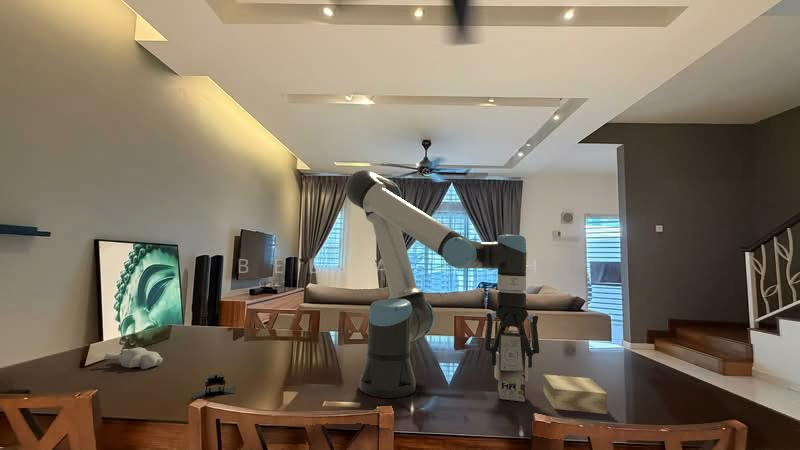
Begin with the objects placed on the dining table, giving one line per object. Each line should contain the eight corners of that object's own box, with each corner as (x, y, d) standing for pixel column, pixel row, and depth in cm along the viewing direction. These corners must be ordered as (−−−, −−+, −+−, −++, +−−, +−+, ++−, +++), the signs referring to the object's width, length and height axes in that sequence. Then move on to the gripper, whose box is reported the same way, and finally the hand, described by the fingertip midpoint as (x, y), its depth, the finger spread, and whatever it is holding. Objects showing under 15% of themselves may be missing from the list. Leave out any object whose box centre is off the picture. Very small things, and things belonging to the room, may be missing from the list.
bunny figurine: (146, 358, 106) (101, 348, 109) (142, 376, 106) (97, 366, 108) (170, 350, 116) (129, 341, 118) (167, 367, 115) (125, 358, 117)
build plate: (184, 403, 86) (186, 382, 86) (186, 392, 92) (188, 374, 93) (242, 396, 92) (243, 377, 92) (240, 387, 98) (241, 369, 98)
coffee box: (525, 402, 92) (526, 336, 94) (499, 399, 93) (500, 334, 95) (521, 390, 101) (521, 330, 103) (497, 387, 102) (498, 328, 104)
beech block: (553, 410, 89) (553, 388, 89) (543, 393, 101) (543, 374, 101) (607, 415, 87) (606, 393, 87) (590, 397, 98) (590, 378, 99)
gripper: (476, 290, 97) (475, 381, 95) (553, 294, 95) (553, 386, 93) (473, 289, 104) (472, 372, 102) (544, 292, 103) (544, 377, 100)
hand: (510, 378), depth 98 cm, fingers closed on coffee box, 7 cm apart
